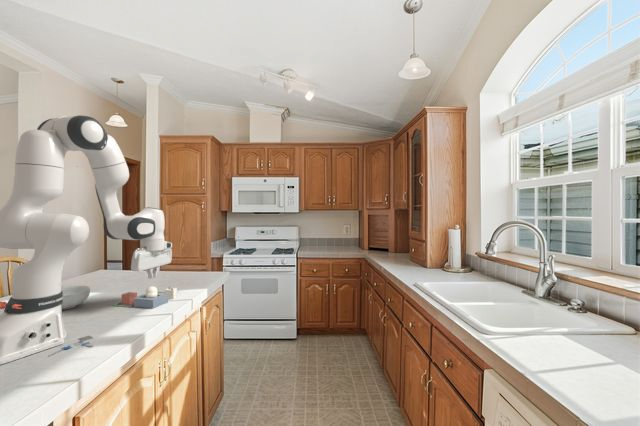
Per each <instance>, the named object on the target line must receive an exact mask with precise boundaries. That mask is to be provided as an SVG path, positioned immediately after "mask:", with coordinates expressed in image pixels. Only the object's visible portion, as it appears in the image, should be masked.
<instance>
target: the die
mask: <svg viewBox="0 0 640 426" xmlns="http://www.w3.org/2000/svg"><path fill="white" fill-rule="evenodd" d="M163 292H164V294H168V300H174V299H176V298H177V297H178V288H177V287H167V288H165V289H164V290H163Z"/></svg>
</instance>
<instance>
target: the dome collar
mask: <svg viewBox="0 0 640 426" xmlns="http://www.w3.org/2000/svg"><path fill="white" fill-rule="evenodd" d="M144 294H145V295H143V294H142V295H143V296H140V295H139V296H140V297H137V298H134V304H133V305H134V306H133V307H134V308H144V309H155V308H159V307H160V306H162V305H165V304H167V303H169V299H168V294H157V297H155V298H146V293H144Z"/></svg>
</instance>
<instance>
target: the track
mask: <svg viewBox="0 0 640 426" xmlns="http://www.w3.org/2000/svg"><path fill="white" fill-rule="evenodd" d="M145 294H146V293H143V294H140V295H137V297H140V296H143V295H145ZM157 294H164V291H157ZM121 302H122V301H120V302H117V303H114V304H112V306H113V307H122V308H133V307H134V304H133V305H130V306H128V305H121Z"/></svg>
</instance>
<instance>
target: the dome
mask: <svg viewBox="0 0 640 426" xmlns="http://www.w3.org/2000/svg"><path fill="white" fill-rule="evenodd" d="M157 292H158V288H157V287H156V286H153V285H152V286H149V287H147V288H146V290H145V294H146V298H155V297H157Z"/></svg>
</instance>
